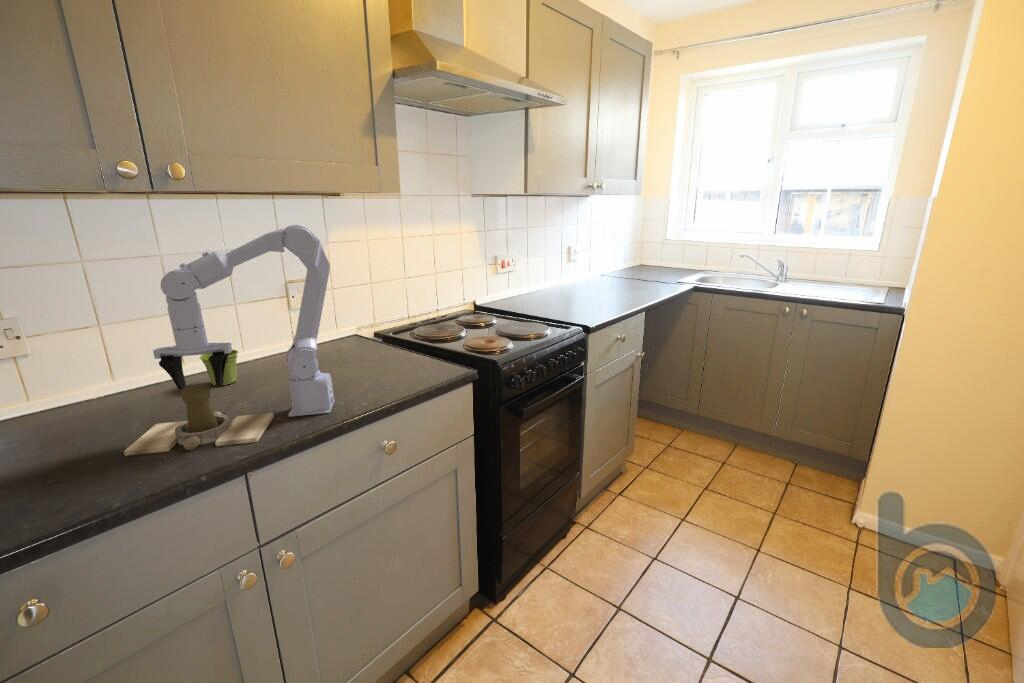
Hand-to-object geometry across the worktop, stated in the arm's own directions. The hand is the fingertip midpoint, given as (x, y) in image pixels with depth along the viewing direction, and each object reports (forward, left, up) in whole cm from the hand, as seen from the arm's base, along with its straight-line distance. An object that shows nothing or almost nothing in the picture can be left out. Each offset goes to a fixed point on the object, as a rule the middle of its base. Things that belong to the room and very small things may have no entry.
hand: (201, 386), depth 106 cm
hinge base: (0, +3, -10) cm, 11 cm away
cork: (0, +2, -11) cm, 11 cm away
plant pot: (+8, -32, -11) cm, 35 cm away
